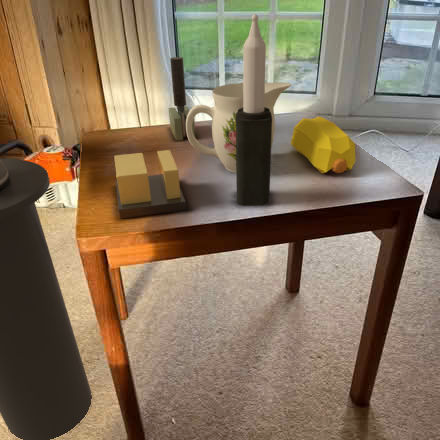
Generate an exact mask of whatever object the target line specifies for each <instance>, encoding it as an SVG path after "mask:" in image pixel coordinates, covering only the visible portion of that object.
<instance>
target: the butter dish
mask: <svg viewBox="0 0 440 440" xmlns="http://www.w3.org/2000/svg"><path fill="white" fill-rule="evenodd" d="M156 154H157V162H158V170H159V174H153V175H152V174H151V175H149V173H148V169H147V165H146V161H145V158H144V154H143V152H137V153H128V154H127V153H126V154H117V155H114V166H115V173H116V174H115V175H116V179H115V189H116V199H117V208H118V215H119V219H121V220H122V219H128V218H129V219H130V218H136V217H137V218H138V217H145V216H153V215H160V214H167V213H168V214H169V213H177V212H184V211H187V204H186V203H187V202H186V200H185V197H184V194H183V192H182V189H181V187H180V176H179V175H180V173H179V169H178V166H177V163H176V161H175V159H174V156H173V154H172V152H171V150H170V149H166V150H157V151H156Z"/></svg>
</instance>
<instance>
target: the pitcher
mask: <svg viewBox="0 0 440 440" xmlns="http://www.w3.org/2000/svg"><path fill="white" fill-rule="evenodd" d="M291 86H292V83H290V82H265V97H264V107H266V108H268V109H270V112H271V115H272V139H271V148H272V147H273V144H274V137H275V131H276V129H275V128H276V118H275V112H274V111H275V110H274V108H275V105H276V102H277V100H278V99H279V97H280V95H281V94H282V93H283V92H285V91H286V90H287V89H290V88H291ZM211 93H212V98H213V102H214V106H212V107H211V106H208V105H205V104H197V105H194V106H193V107H192V108H191V109H189V110H190V111H189V113H188V115H187V119H186V133H187V135H186V138H187V139H188V141H189V144H190V145H191V146H192V147H193V148H194V149H195V150H196V151H197V152H199V153H201V154H202V155H206V156H211V157H214V158H215V157H216V158H218V159H219V161H220V163H221V165H222V166H223V167H224V168H225V169H226V171H228V172H231V173H235V174H236V113H237V112H238V109H240V108H243V82H239V83H238V82H237V83H229V84H223V85H219V86H217V87H215V88H213V89H212V91H211ZM198 114H206V115H208V116H209V117H210V118H211V137H212V141H213V142H212V143H213V145H214V146H213V147H208V146H206V145H204V144H202V143H201V142H200V141H198V140H197V138H196V136H195V137H194V134H193V131H192V123H193V119H194V120H195V117H196V116H197V115H198Z"/></svg>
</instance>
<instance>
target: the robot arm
mask: <svg viewBox="0 0 440 440" xmlns="http://www.w3.org/2000/svg"><path fill="white" fill-rule="evenodd" d="M1 159H2V158H0V191H1V190H2V189H4V188H5V187H6V186H7V185H8V184H9V182H10V177H9V174H8V171H7V168H6V167H5V165H4V164H3V162H2V161H1Z"/></svg>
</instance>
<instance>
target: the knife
mask: <svg viewBox="0 0 440 440" xmlns="http://www.w3.org/2000/svg"><path fill="white" fill-rule="evenodd" d="M169 60H170V72H171V73H170V74H171V85H172V96H173V105H174V107H175V108H176V110H177V112H178V113H179V115H180V117H181V120H182V133H183V138H187V135H186V130H185V117H184V112H183V111H185V108H184V107H185V106H187V96H186V95H187V93H186V79H185V65H184V57H182V56H172V57H170V58H169Z"/></svg>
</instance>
